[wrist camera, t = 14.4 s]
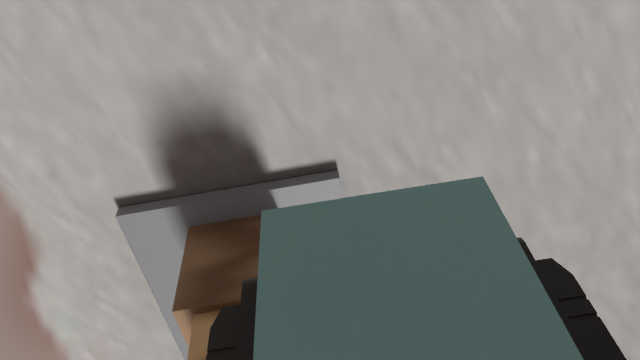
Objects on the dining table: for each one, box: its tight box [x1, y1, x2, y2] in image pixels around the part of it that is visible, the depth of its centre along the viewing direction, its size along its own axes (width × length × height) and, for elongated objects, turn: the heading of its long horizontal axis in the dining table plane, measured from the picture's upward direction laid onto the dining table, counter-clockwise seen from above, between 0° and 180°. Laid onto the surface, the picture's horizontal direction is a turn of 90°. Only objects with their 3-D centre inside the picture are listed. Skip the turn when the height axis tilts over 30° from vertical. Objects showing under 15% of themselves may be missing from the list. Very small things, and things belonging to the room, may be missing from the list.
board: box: [116, 170, 343, 360], centre depth 33 cm, size 12×18×1 cm, turn 9°
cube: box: [253, 177, 584, 360], centre depth 10 cm, size 4×4×4 cm
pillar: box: [172, 215, 261, 348], centre depth 27 cm, size 5×5×6 cm
